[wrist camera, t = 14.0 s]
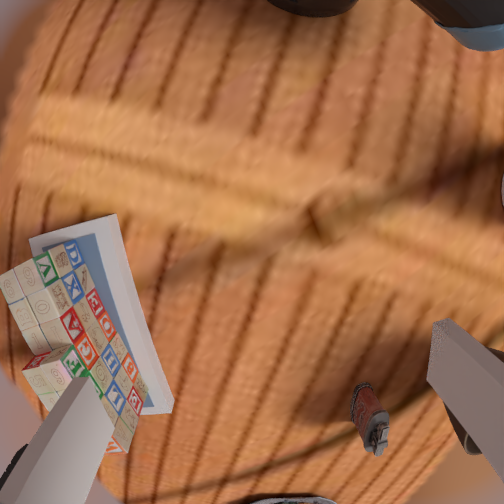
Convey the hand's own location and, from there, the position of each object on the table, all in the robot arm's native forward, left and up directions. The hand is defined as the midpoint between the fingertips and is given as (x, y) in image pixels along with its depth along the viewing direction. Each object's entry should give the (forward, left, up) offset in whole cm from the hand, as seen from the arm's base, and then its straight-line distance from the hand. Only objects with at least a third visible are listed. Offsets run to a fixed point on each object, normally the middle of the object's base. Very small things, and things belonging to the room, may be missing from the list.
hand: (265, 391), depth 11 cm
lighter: (+28, +13, -28) cm, 42 cm away
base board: (+7, -20, -28) cm, 35 cm away
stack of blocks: (+6, -20, -25) cm, 33 cm away
